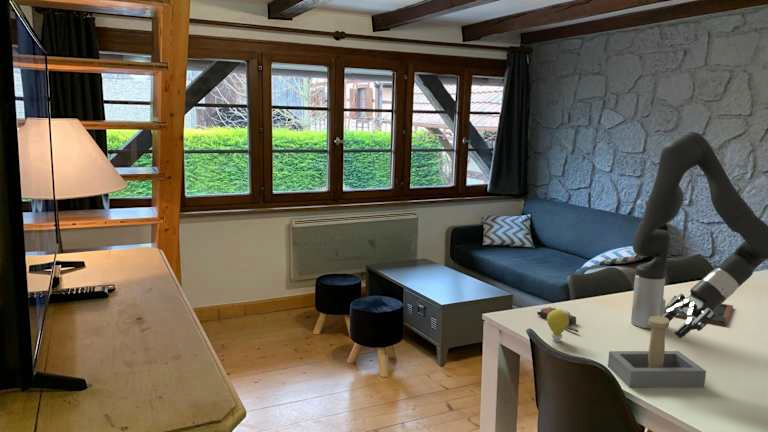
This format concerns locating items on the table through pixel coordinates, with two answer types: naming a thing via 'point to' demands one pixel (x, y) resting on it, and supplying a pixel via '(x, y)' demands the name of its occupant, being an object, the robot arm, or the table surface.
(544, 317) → the walkie-talkie
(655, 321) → the handle
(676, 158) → the robot arm
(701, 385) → the gray rectangular tray
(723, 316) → the picture frame
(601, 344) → the table surface
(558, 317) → the light bulb
